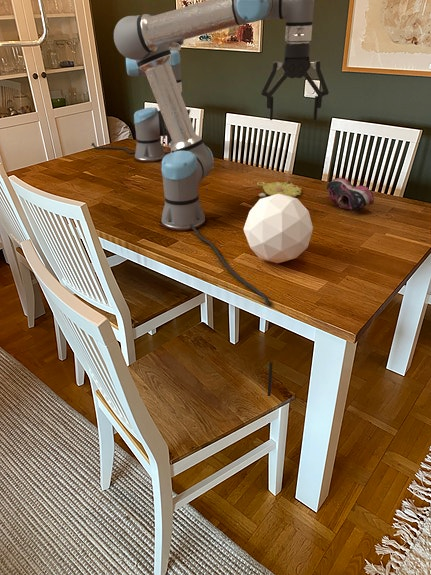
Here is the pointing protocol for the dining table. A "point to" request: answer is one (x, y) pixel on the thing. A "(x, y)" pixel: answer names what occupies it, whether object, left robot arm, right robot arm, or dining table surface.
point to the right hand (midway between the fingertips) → (292, 119)
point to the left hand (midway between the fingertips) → (177, 150)
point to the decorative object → (280, 189)
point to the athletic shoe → (349, 194)
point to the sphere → (278, 228)
